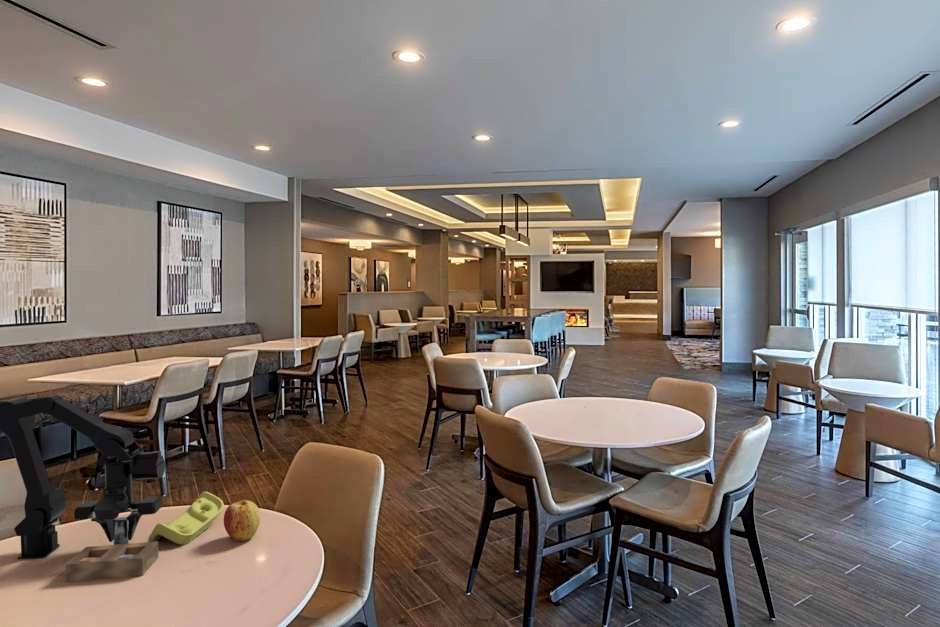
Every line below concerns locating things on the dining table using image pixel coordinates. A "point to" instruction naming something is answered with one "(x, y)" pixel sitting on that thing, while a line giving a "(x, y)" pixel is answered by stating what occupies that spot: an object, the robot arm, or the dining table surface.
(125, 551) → the board
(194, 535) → the plastic component
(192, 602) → the dining table surface
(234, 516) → the apple
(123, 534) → the plug
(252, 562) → the dining table surface
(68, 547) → the dining table surface
